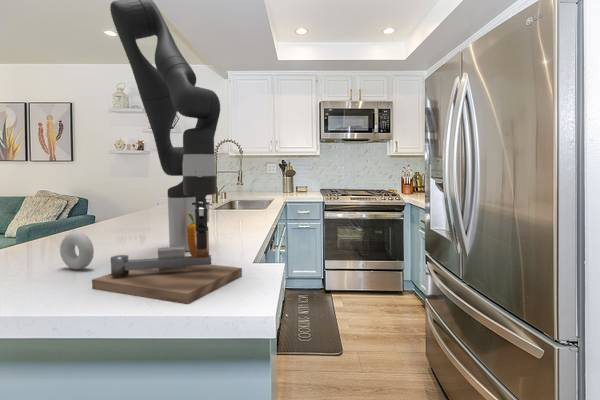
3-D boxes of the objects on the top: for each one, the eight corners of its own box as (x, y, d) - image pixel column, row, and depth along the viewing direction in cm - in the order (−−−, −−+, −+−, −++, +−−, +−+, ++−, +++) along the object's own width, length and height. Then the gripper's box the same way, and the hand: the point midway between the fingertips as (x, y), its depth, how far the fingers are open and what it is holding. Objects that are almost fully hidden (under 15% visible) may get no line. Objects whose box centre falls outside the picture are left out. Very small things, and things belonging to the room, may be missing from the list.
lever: (113, 272, 85) (111, 230, 84) (211, 265, 90) (210, 225, 89) (109, 277, 81) (107, 232, 80) (211, 269, 87) (210, 227, 86)
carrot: (189, 266, 99) (187, 211, 98) (186, 262, 103) (184, 209, 102) (208, 264, 101) (206, 210, 100) (204, 260, 106) (202, 208, 104)
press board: (158, 266, 100) (157, 240, 99) (242, 276, 90) (241, 247, 89) (92, 288, 81) (90, 257, 81) (187, 303, 71) (186, 268, 71)
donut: (97, 269, 97) (96, 231, 97) (86, 272, 94) (84, 233, 93) (69, 266, 101) (67, 229, 100) (57, 269, 97) (55, 232, 97)
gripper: (183, 174, 92) (185, 243, 93) (181, 174, 78) (184, 254, 80) (214, 174, 94) (216, 241, 95) (218, 174, 80) (220, 252, 82)
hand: (201, 247), depth 87 cm, fingers closed on lever, 3 cm apart
